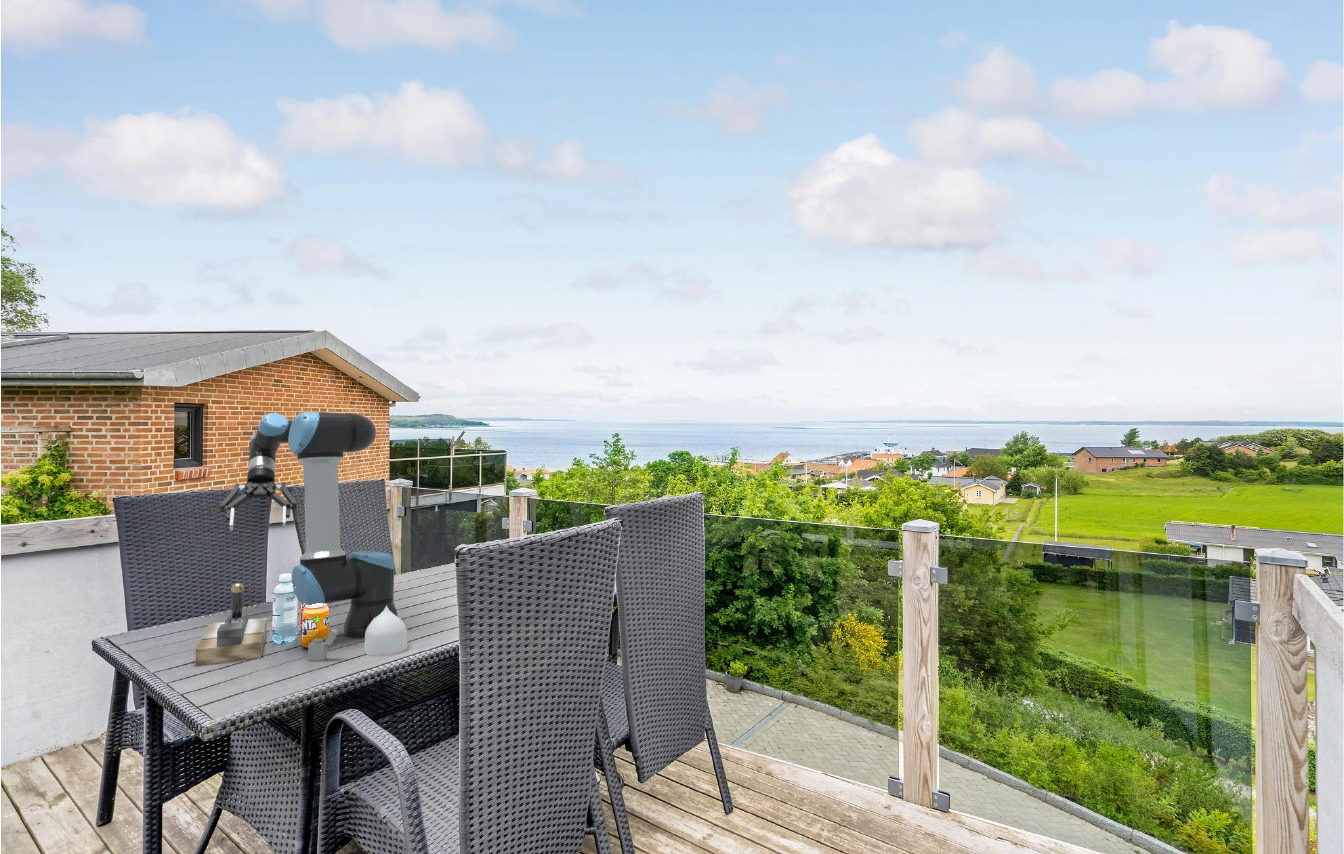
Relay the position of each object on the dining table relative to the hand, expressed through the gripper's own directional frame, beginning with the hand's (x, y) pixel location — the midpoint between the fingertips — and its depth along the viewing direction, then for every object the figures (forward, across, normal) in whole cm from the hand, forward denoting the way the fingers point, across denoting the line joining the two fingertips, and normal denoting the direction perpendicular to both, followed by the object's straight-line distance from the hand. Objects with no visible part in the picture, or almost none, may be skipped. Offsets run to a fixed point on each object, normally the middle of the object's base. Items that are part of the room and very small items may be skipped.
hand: (258, 526), depth 200 cm
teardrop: (+50, -32, +8) cm, 60 cm away
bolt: (+30, +4, -5) cm, 31 cm away
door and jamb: (+36, +4, -6) cm, 37 cm away
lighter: (+52, -17, +10) cm, 55 cm away
